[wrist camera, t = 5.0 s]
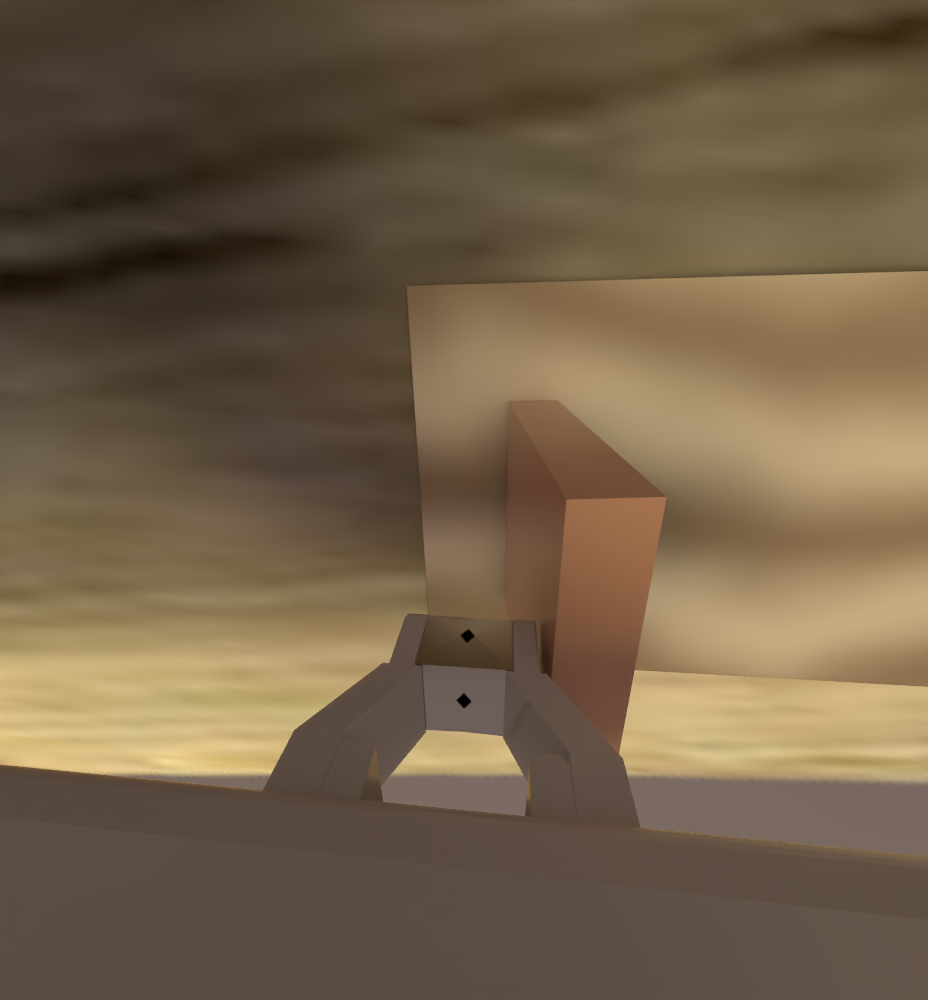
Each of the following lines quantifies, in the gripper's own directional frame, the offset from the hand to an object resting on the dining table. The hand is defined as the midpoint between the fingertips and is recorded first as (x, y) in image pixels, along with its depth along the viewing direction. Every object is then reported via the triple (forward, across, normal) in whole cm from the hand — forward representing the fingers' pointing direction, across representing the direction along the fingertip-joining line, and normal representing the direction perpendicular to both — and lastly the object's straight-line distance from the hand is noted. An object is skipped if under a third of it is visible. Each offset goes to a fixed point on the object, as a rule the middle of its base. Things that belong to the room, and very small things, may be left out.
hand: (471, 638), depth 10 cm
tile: (+6, -2, 0) cm, 7 cm away
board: (+8, -9, 0) cm, 12 cm away
